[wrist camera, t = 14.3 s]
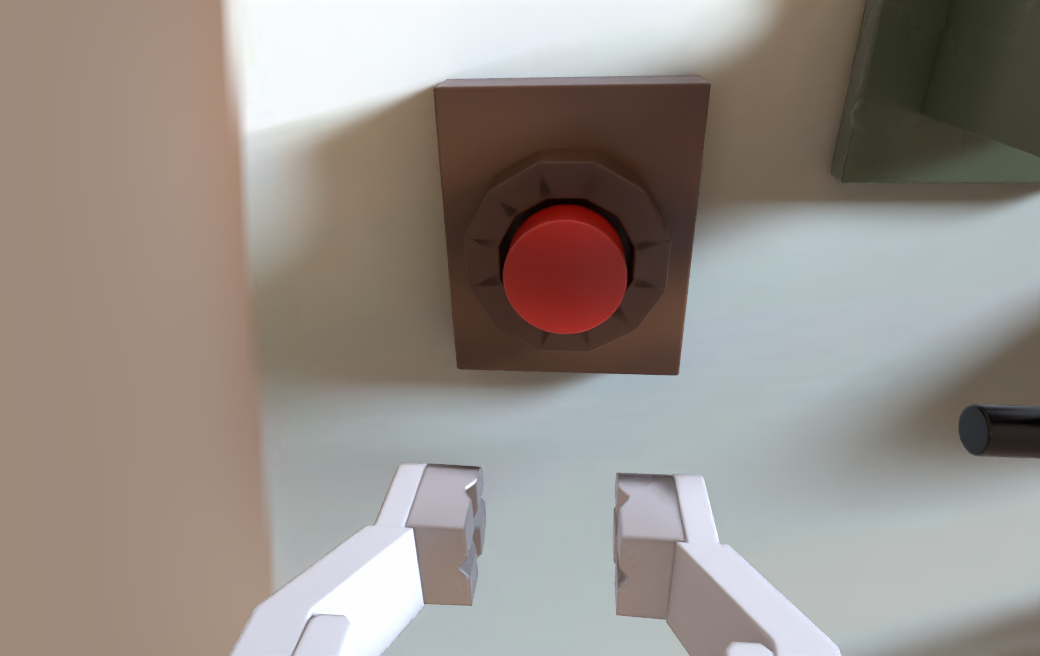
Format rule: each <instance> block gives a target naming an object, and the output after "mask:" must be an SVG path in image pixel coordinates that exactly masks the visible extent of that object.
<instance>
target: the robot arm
mask: <svg viewBox="0 0 1040 656" xmlns="http://www.w3.org/2000/svg"><path fill="white" fill-rule="evenodd" d="M483 485H484V481H483V471H482V468H481V467H475V466H460V465H445V464H430V463H429V464H422V463H407V462H402V463H401V464H400V465H399V466H398V467H397V470H396V472H395V475H394V477H393V480H392V482H391V484H390V487H389V489H388V492H387V494H386V497H385V499H384V502H383V504H382V507H381V509H380V512H379V514H378V516H377V519H376V521H375V524H374V526H367V525H366V526H365V527H363V528H362V529H360V530H359V531H358V532H356V533H355V534H354V535H352V536H351V537H350V538H348V539H347V540H346V541H344V542H343V543H341V544H340V545H339V546H337V547H336V548H335V549H333V550H332V551H331V552H329V553H328V554H327V555H325V556H324V557H322V558H321V559H320V560H318V561H317V562H316V563H314V564H313V565H312V566H310V567H309V568H307V569H306V570H305V571H303V572H302V573H301V574H299V575H298V576H297V577H295V578H294V579H293V580H291V581H290V582H288V583H287V584H286V585H284V586H283V587H282V588H280V589H279V590H278V591H276V592H275V593H274V594H272V595H271V596H269V597H268V598H267V599H266V600H264V601H263V602H261V603H260V604H259V605H257V606H256V607H255V609H254V610H253V612H252V614H251V616H250V618H249V620H248V622H247V623H246V625H245V627H244V629H243V631H242V632H241V634H240V636H239V638H238V640H237V642H236V643H235V645H234V647H233V649H232V651H231V652H230V654H229V656H381V654H382V653H383V652H384V651H385V650H386V649H387V648H388V647H389V646H390V644H391V643H392V642H393V641H394V640H395V639H396V638H397V637H398V636H399V634H400V633H401V632H402V631H403V630H404V629H405V628H406V627H407V626H408V624H409V623H410V622H411V621H412V620H413V619H414V618H415V617H416V615H417V614H418V613H419V612H420V611H421V610H422V609H423V608H424V604H441V605H469V606H472V602H473V597H474V592H475V587H476V582H477V577H478V568H477V558H478V557H479V556H480V555H481V554H482V550H483V544H484V537H485V526H486V510H485V502H484V501H483V499H482V498H481V495H482V490H483ZM615 500H616V507H615V508H614V521H613V555H614V562H615V564H616V567H615V598H616V615H621V616H632V617H643V618H654V619H665V620H667V621H666V622H667V624H668V625H669V627H670V628H671V629H672V631H673V632H674V634H675V635H676V636H677V638H678V639H679V641H680V642H681V644H682V645H683V646H684V648H685V649H686V651H687V652H688V654H689V655H690V656H842V655H841V653H840V650H839V648H838V646H837V645H836V644H834V643H833V642H832V641H831V640H830V639H829V638H828V637H827V636H826V635H825V634H824V633H823V632H822V631H820V630H819V629H818V628H817V627H816V626H815V625H814V624H813V623H812V622H811V621H810V620H809V619H808V618H807V617H805V616H804V615H803V614H802V613H801V612H800V611H799V610H798V609H797V608H796V607H795V606H794V605H793V604H791V603H790V602H789V601H788V600H787V599H786V598H785V597H784V596H783V595H782V594H781V593H780V592H779V591H777V590H776V589H775V588H774V587H773V586H772V585H771V584H770V583H769V582H768V581H767V580H766V579H765V578H764V577H762V576H761V575H760V574H759V573H758V572H757V571H756V570H755V569H754V568H753V567H752V566H751V565H750V564H748V563H747V562H746V561H745V560H744V559H743V558H742V557H741V556H740V555H739V554H738V553H737V552H736V551H735V550H733V549H732V548H731V547H730V546H729V545H724V544H719V539H718V535H717V531H716V527H715V523H714V519H713V515H712V511H711V507H710V502H709V498H708V494H707V490H706V486H705V482H704V478H703V477H702V476H701V475H684V474H673V475H665V474H637V473H616V483H615Z"/></svg>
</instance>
